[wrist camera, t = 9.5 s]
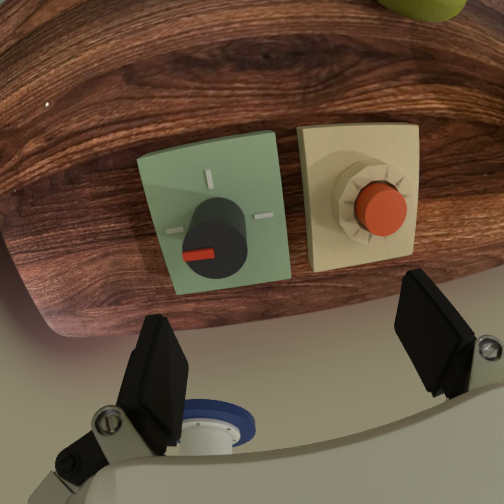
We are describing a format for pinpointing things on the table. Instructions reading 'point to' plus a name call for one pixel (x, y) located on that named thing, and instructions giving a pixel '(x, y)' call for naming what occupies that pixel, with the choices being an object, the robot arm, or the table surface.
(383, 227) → the stop button
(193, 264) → the dial
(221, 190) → the dial base
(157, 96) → the table surface
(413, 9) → the apple
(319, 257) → the button base
